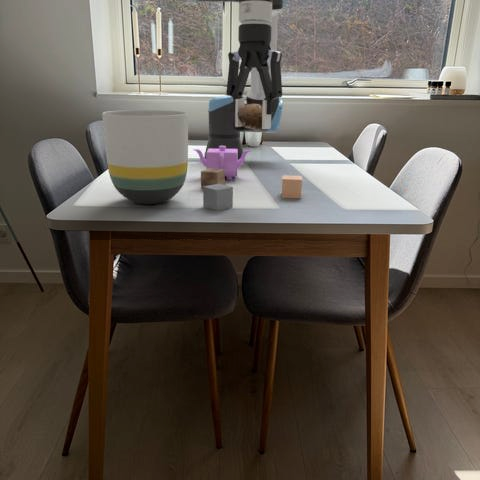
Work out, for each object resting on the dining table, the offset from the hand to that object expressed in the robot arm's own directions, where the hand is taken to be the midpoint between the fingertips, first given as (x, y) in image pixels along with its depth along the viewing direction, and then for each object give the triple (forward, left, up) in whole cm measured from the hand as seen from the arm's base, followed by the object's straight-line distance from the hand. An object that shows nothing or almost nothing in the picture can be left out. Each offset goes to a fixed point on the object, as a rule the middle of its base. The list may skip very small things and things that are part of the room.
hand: (252, 127), depth 112 cm
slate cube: (-2, -11, -18) cm, 21 cm away
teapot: (-23, +17, -18) cm, 34 cm away
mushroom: (0, 0, -1) cm, 1 cm away
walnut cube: (-16, +4, -18) cm, 24 cm away
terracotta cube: (+6, +10, -18) cm, 22 cm away
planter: (-18, -18, -18) cm, 31 cm away
